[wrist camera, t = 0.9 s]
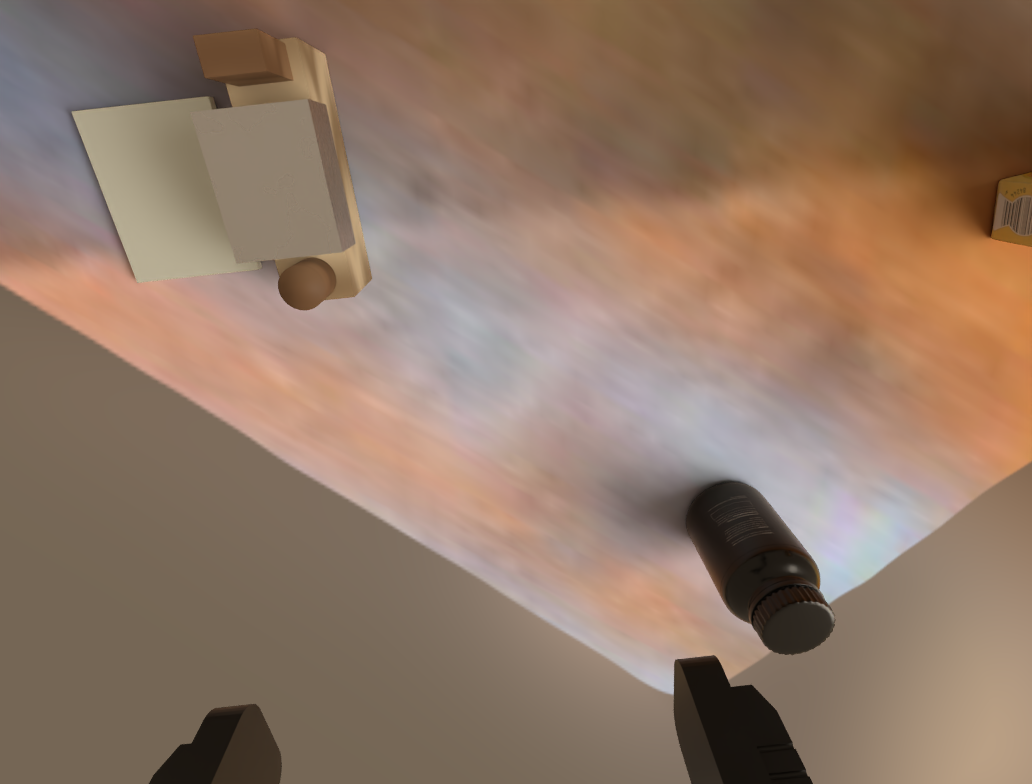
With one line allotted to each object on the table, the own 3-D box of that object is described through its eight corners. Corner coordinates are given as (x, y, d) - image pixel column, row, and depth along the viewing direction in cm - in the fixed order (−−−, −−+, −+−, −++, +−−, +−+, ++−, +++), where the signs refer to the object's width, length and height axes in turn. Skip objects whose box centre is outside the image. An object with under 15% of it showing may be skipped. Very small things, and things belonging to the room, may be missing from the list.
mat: (78, 112, 32) (71, 111, 31) (213, 97, 32) (208, 96, 31) (142, 280, 36) (137, 282, 35) (262, 267, 36) (258, 269, 35)
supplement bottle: (673, 541, 46) (728, 661, 35) (698, 473, 44) (766, 581, 33) (748, 551, 47) (825, 671, 36) (777, 485, 44) (870, 594, 33)
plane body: (256, 62, 31) (177, 31, 23) (325, 54, 31) (268, 21, 23) (313, 285, 36) (263, 321, 29) (372, 278, 36) (338, 312, 29)
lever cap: (219, 116, 28) (189, 111, 25) (326, 104, 28) (307, 98, 25) (259, 254, 31) (236, 263, 28) (356, 243, 31) (342, 252, 28)
